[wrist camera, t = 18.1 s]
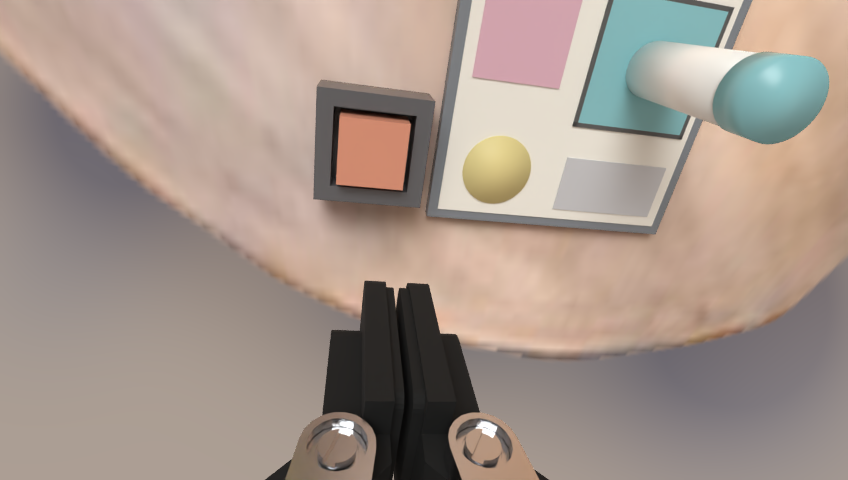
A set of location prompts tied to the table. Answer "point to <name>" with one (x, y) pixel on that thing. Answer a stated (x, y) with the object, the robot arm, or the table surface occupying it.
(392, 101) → the button housing
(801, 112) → the marker
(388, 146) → the button
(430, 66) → the table surface
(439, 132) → the picture board
